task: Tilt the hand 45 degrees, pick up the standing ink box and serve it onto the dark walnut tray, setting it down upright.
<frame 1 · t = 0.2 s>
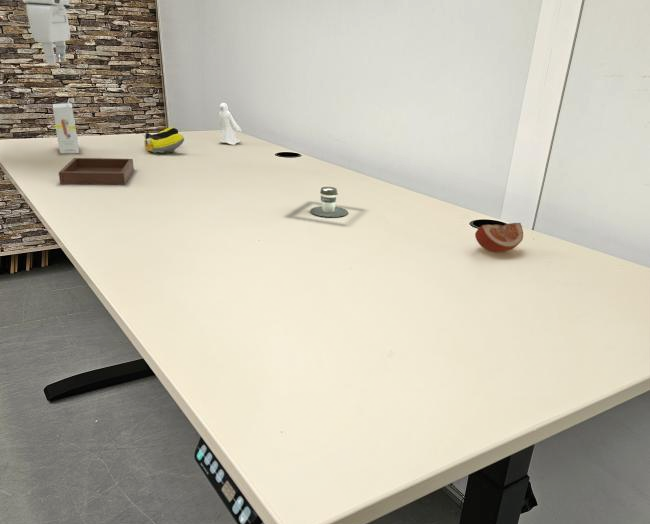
hand: (56, 63, 138), 23 cm above the table, tool pointing down, fingers open, 8 cm apart
fruit slice: (496, 252, 103), on the table
coffee cup: (327, 213, 120), on the table
ink box: (69, 151, 161), on the table
figurine: (230, 143, 183), on the table
tray: (99, 176, 137), on the table
yellow rounded piece: (164, 151, 168), on the table
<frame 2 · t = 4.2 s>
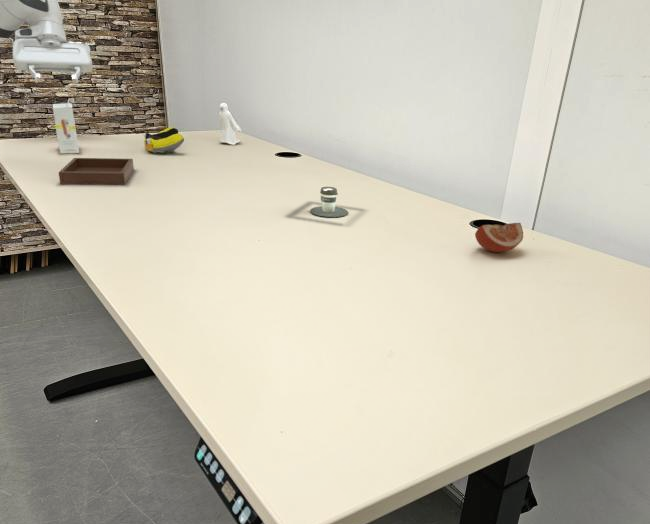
hand: (57, 81, 163), 16 cm above the table, tool tilted 45°, fingers open, 8 cm apart
nothing on the table moved.
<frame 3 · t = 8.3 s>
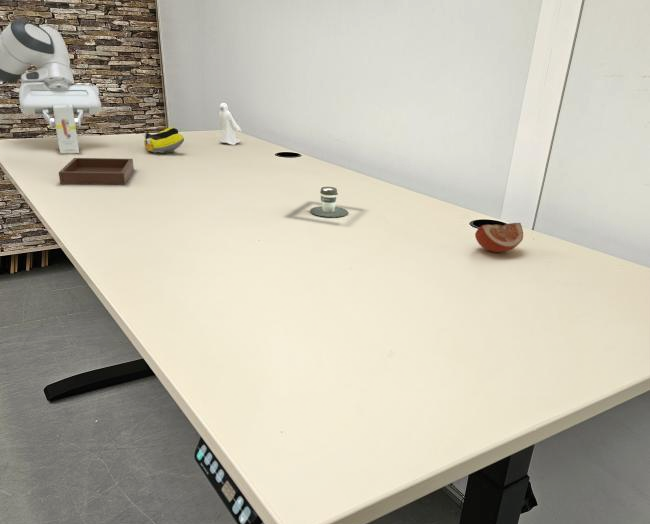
hand: (65, 126, 158), 7 cm above the table, tool tilted 45°, fingers closed on ink box, 5 cm apart
ink box: (69, 151, 161), on the table, touching gripper
everything else where it was.
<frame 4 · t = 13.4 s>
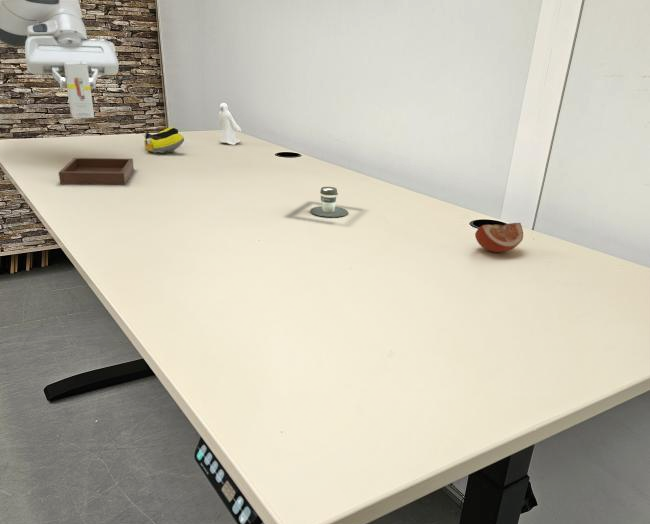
hand: (78, 86, 137), 18 cm above the table, tool tilted 45°, fingers closed on ink box, 5 cm apart
ink box: (82, 116, 141), point 12 cm above the table, touching gripper
everything else where it was.
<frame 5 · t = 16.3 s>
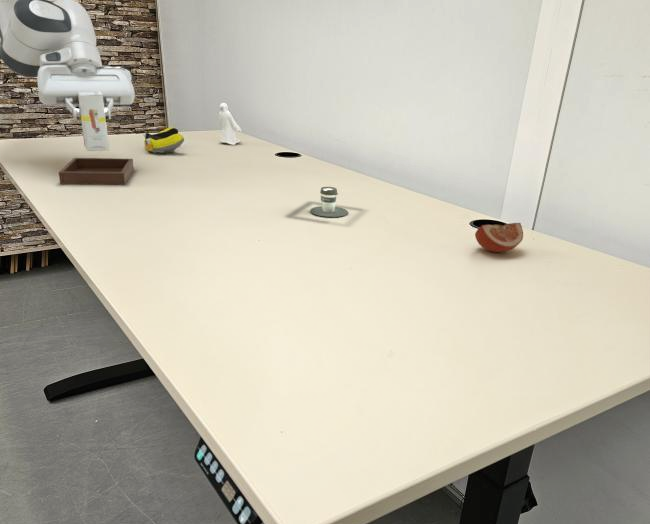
hand: (92, 117, 131), 13 cm above the table, tool tilted 45°, fingers closed on ink box, 5 cm apart
ink box: (96, 148, 134), point 6 cm above the table, touching gripper
everything else where it was.
when the fingers open (7 cm above the table, at t = 18.4 s): ink box stays where it is, resting on tray.
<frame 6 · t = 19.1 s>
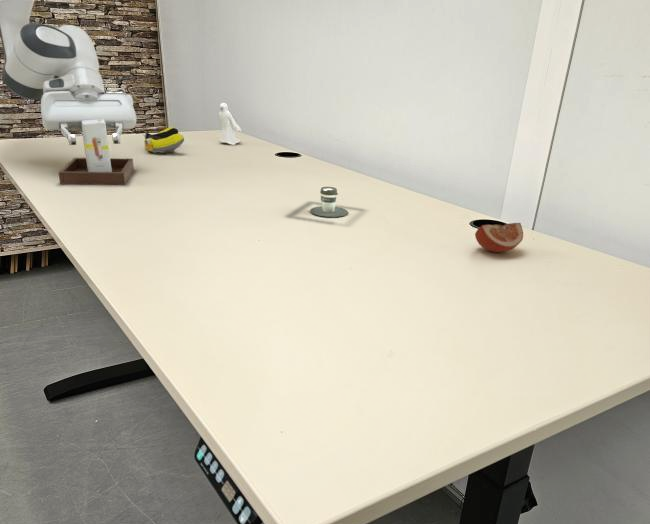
hand: (95, 142, 133), 8 cm above the table, tool tilted 45°, fingers open, 8 cm apart
ink box: (99, 174, 137), resting on tray
everything else where it was.
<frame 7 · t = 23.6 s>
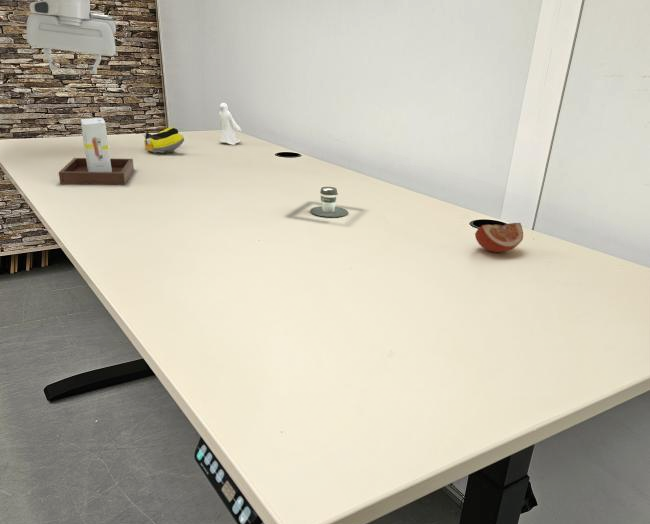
hand: (73, 71, 149), 20 cm above the table, tool pointing down, fingers open, 8 cm apart
nothing on the table moved.
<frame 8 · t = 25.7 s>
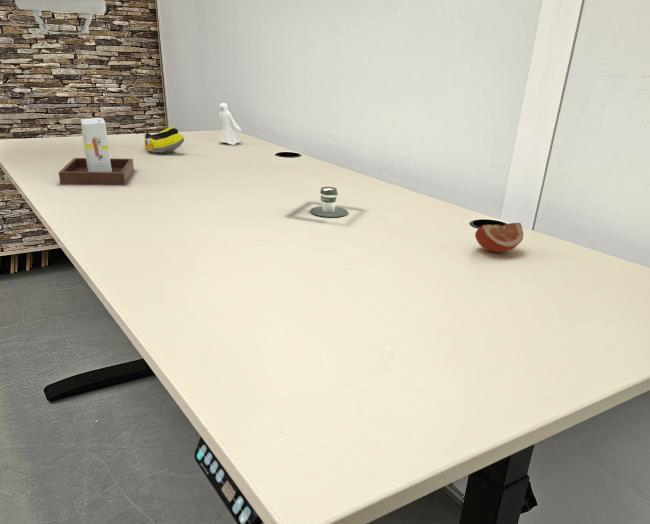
hand: (65, 33, 145), 29 cm above the table, tool pointing down, fingers open, 8 cm apart
nothing on the table moved.
at the end: ink box inside the target area in the tray (0.2 cm from its centre), point 0.4 cm above the tray's base; ink box tilted 0°; the gripper is holding nothing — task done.
